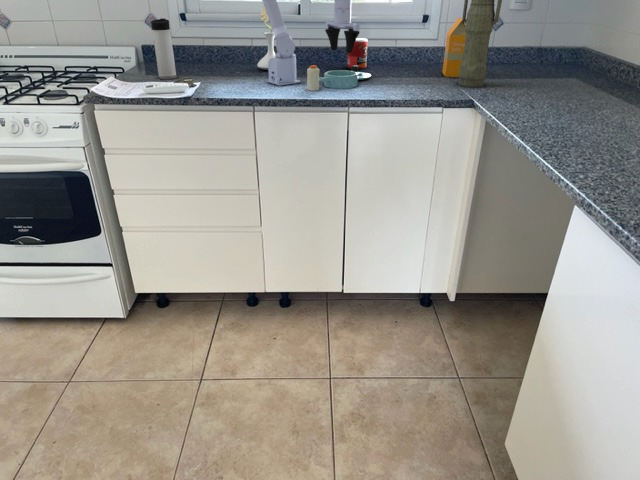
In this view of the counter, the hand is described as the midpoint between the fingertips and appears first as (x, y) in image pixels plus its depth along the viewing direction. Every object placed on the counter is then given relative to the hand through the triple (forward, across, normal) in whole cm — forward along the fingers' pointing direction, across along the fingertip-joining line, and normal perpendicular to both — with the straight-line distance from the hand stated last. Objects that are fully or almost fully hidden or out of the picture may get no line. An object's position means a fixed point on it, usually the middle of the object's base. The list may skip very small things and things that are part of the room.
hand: (341, 51), depth 171 cm
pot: (+10, -4, +4) cm, 12 cm away
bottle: (+10, -3, +16) cm, 20 cm away
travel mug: (+11, +48, +43) cm, 65 cm away
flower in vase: (+11, +35, +4) cm, 37 cm away
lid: (+10, +2, -8) cm, 13 cm away
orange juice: (+10, -20, -42) cm, 47 cm away
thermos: (+10, -35, -30) cm, 47 cm away
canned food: (+10, +16, -25) cm, 31 cm away
